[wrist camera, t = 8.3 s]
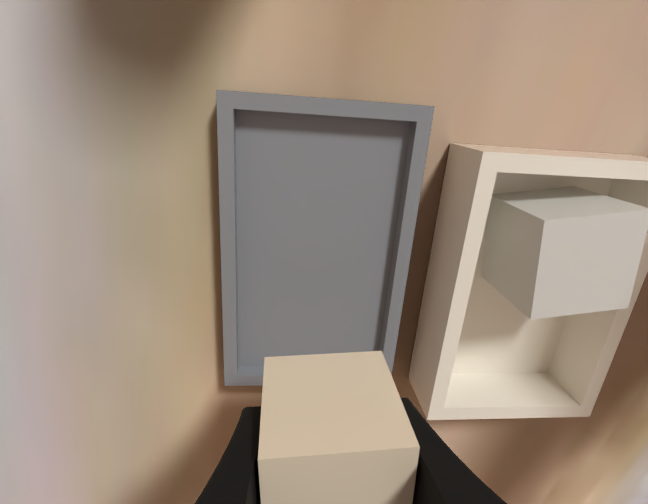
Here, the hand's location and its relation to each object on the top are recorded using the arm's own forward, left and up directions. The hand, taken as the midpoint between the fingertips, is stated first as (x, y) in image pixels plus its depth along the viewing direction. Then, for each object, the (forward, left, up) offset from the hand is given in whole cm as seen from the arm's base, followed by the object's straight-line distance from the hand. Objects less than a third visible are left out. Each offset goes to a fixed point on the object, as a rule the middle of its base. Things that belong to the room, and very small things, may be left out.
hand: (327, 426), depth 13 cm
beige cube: (0, 0, -1) cm, 1 cm away
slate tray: (0, -3, -7) cm, 8 cm away
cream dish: (-10, -2, -7) cm, 12 cm away
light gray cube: (-10, -5, -6) cm, 13 cm away
